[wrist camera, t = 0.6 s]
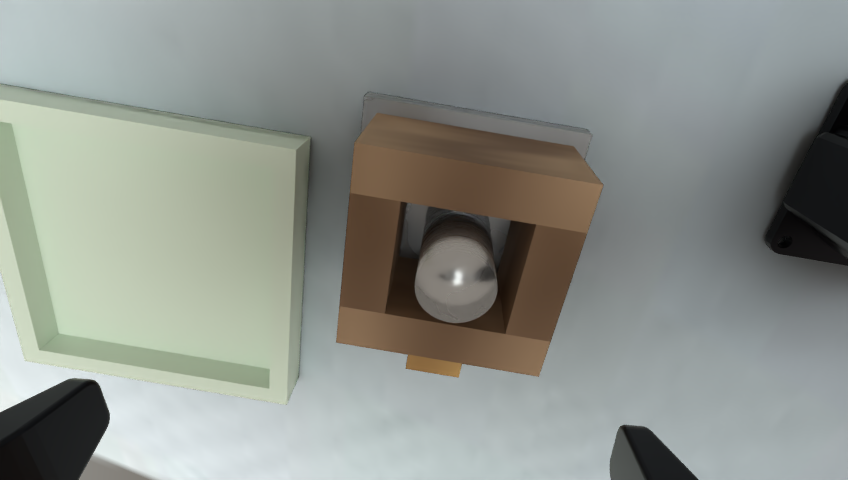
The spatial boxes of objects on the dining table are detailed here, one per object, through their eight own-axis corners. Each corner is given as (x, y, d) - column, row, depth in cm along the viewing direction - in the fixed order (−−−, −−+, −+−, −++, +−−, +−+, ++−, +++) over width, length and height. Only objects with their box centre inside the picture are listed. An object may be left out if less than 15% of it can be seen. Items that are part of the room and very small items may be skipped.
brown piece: (574, 146, 17) (603, 184, 14) (516, 338, 21) (527, 408, 17) (377, 112, 17) (354, 142, 14) (355, 311, 21) (332, 375, 17)
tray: (310, 136, 19) (296, 149, 17) (298, 377, 24) (286, 405, 22) (-4, 83, 18) (-49, 91, 17) (54, 336, 24) (25, 360, 22)
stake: (587, 129, 18) (639, 183, 12) (531, 310, 21) (554, 411, 16) (368, 91, 18) (329, 130, 12) (349, 280, 21) (312, 371, 16)
